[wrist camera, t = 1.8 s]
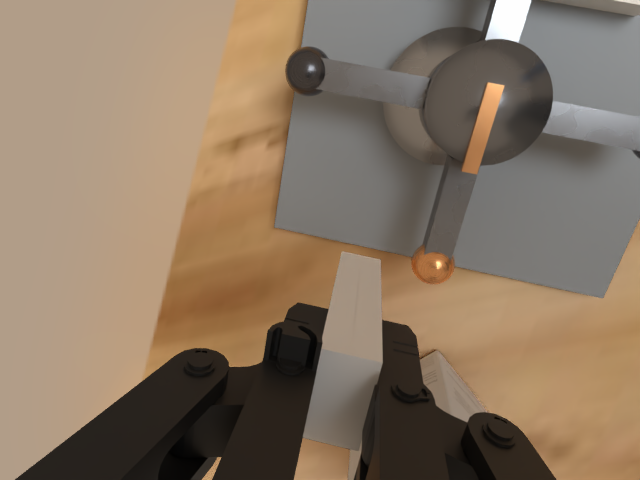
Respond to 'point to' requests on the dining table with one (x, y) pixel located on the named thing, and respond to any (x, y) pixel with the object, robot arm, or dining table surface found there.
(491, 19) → the capstan
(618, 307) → the dining table surface
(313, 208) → the stand
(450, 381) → the supplement box
